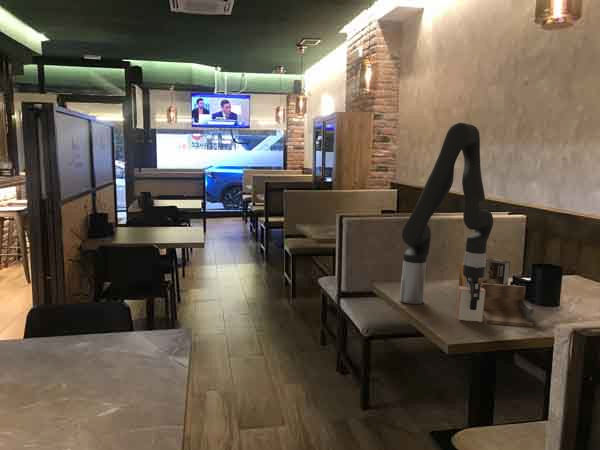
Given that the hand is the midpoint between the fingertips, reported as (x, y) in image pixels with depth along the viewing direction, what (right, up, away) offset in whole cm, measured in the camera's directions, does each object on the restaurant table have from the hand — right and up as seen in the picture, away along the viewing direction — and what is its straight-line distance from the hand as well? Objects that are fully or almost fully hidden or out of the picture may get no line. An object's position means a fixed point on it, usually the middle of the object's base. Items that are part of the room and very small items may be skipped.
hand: (470, 305), depth 183 cm
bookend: (+14, -5, +3) cm, 15 cm away
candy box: (+7, -2, +22) cm, 23 cm away
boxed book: (0, -5, +1) cm, 5 cm away
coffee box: (+20, -1, +29) cm, 36 cm away
